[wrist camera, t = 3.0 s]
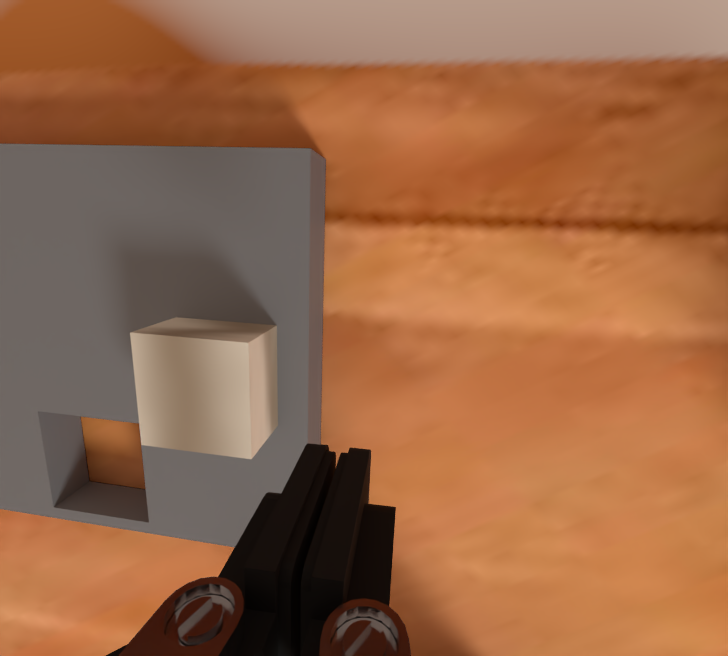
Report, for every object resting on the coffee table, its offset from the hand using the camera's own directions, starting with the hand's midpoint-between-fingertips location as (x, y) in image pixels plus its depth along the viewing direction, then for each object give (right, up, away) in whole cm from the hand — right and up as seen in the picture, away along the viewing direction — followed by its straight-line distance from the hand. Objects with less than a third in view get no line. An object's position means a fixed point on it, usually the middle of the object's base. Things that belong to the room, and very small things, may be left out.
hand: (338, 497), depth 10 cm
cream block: (-6, +2, +9) cm, 11 cm away
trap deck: (-16, +4, +13) cm, 21 cm away
